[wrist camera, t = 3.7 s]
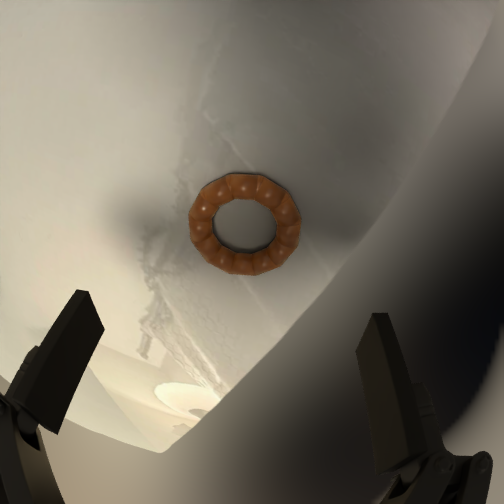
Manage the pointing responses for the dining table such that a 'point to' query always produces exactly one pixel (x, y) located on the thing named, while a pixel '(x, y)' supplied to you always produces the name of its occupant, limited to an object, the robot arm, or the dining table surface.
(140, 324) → the dining table surface
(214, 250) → the bracelet
